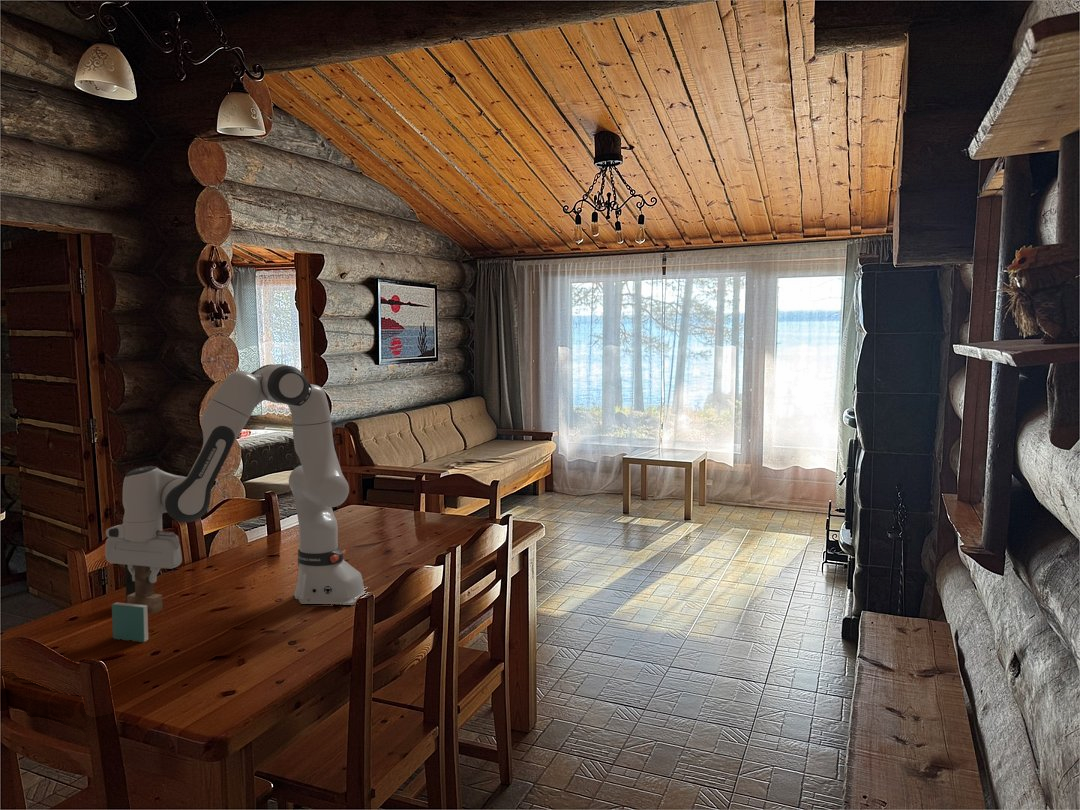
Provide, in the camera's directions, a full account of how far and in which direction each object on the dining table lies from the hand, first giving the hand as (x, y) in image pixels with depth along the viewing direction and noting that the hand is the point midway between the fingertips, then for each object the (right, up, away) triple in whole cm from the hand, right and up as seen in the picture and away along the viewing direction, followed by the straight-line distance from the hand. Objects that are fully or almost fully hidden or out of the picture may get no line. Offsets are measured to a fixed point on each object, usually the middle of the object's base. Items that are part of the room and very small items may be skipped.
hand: (144, 581), depth 186 cm
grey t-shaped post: (0, -8, +1) cm, 8 cm away
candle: (-13, -12, +20) cm, 26 cm away
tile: (-1, -14, -4) cm, 14 cm away
